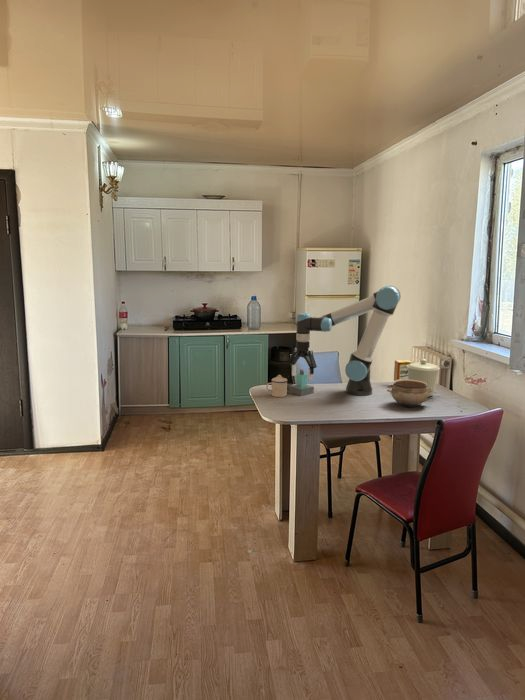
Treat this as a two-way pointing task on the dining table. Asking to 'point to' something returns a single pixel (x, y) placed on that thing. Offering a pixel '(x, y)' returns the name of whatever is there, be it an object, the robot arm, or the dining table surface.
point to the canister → (424, 373)
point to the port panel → (301, 390)
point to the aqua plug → (301, 379)
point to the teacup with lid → (278, 386)
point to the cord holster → (288, 386)
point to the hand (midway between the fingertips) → (302, 377)
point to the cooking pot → (409, 392)
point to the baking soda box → (401, 369)
